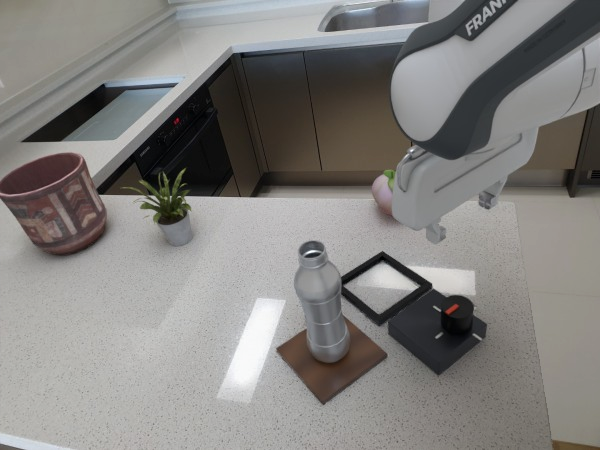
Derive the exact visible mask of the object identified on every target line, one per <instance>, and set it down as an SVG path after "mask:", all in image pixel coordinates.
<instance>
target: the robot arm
mask: <svg viewBox="0 0 600 450" xmlns="http://www.w3.org/2000/svg"><path fill="white" fill-rule="evenodd" d="M389 75H390V76H389V82H388V99H389V105H390V110H391V114H392V117H393V119H394V121H395V124H396V126H397V127H398V129H399V130H400V132H401V133H402V135H404V136H405V138H407V139H408V140H409V141H410V142H412V144H415V145H413V146H410V147H409V148H408V149H407V150H406V151H405V155H404V156H403V157H402V158H401V161H400V162H398V163H397V166H396V170H395V172H396V173H395V178H394V185H393V195H392V215H391V216H392V217H393V218H394V220H396V221H397V222H398V223H400V224H402V225H403V226H405V227H407V228H409V229H411V230H412V231H415V232H419V231H422V230H424V229H425V238H426V240H427V241H428V242H430V243H431V244H433V245H435V246H436V245H438V244H439V243H441V242H442V241H444V240H445V239H446V238H447V236H446V234H447V228H446V227H444V226H442V225H440V224H439V223H441V221H442V217H444V216H446V215H447V214H449V213H451V212H452V211H453V210H455V209H457V208H459V207H460V206H461V205H463V204H464V203H466V202H468V201H469V200H471V199H472V198H474V197H476V196H477V195H478V202H477V203H478V206H479V207H480V208H484V209H485V210H487V211H488V210H491V209H492V208H494V207H496V206H497V205H498V204H499V197H500V194H501V192H502V190H503V188H504V187H505V184H506V182H508V177H509V175H510V174H512V173H514V172H515V171H517V170H518V169H520V168H522V167H523V166H525V165H527V164H528V162H529V161H530V159H531V157H532V155H534V151H535V148H536V143H537V139H538V133H539V129H540V127H542V126H545V125H548V124H551V123H554V122H557V121H559V120H562V119H564V118H568V117H571V116H573V115H576V114H579V113H581V112H584V111H587V110H589V109H592V108H594V107H595V106H598V105H600V0H429V4H428V16H427V23H424V24H422V25H419V26H418V27H416V28H414V30H412V31H411V33H410V34H409V35H408V36H407V38H406V40H405V42H404V43H403V44H402V47H401V48H400V50H399V52H398V54H397V57H396V58H395V60H394V64H393V66H392V69H391V72H390V74H389Z"/></svg>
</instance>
